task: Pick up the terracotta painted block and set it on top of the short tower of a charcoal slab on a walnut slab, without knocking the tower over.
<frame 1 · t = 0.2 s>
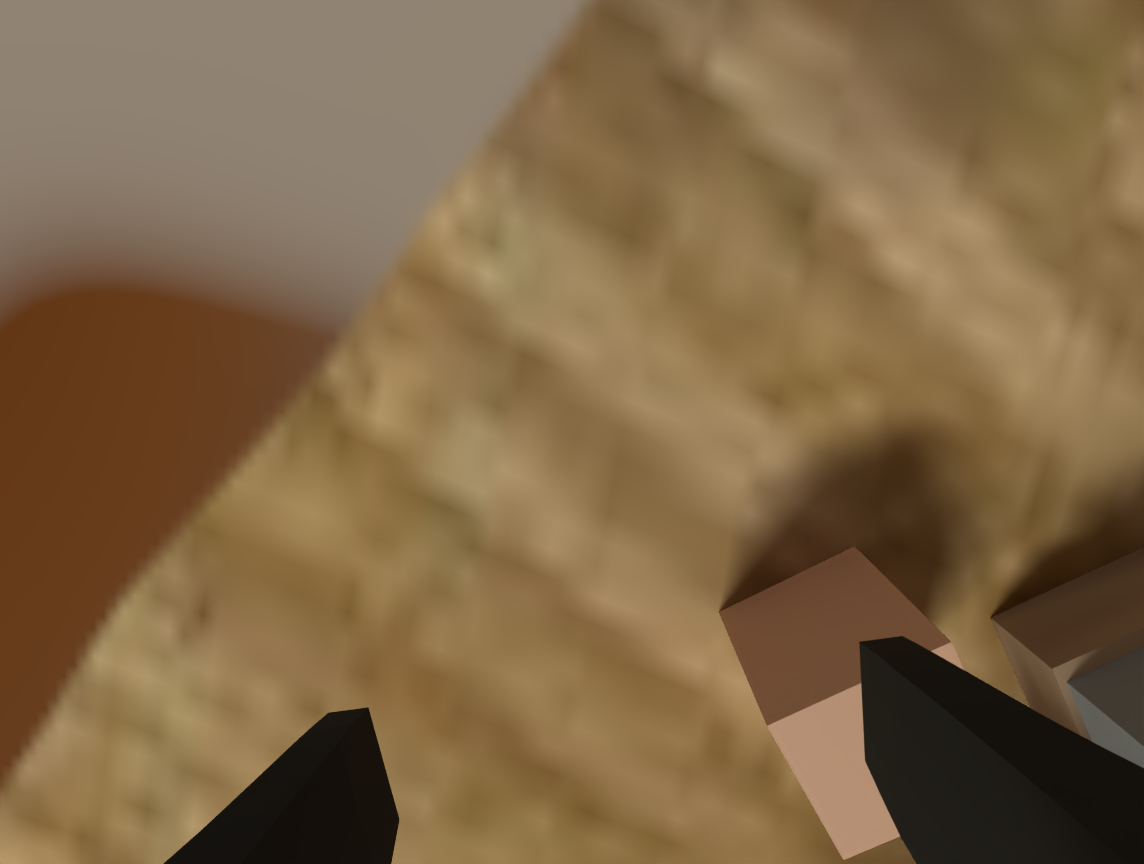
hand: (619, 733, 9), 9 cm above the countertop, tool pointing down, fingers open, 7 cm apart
base slab: (1142, 651, 20), on the countertop, touching top slab
terracotta block: (814, 635, 20), on the countertop
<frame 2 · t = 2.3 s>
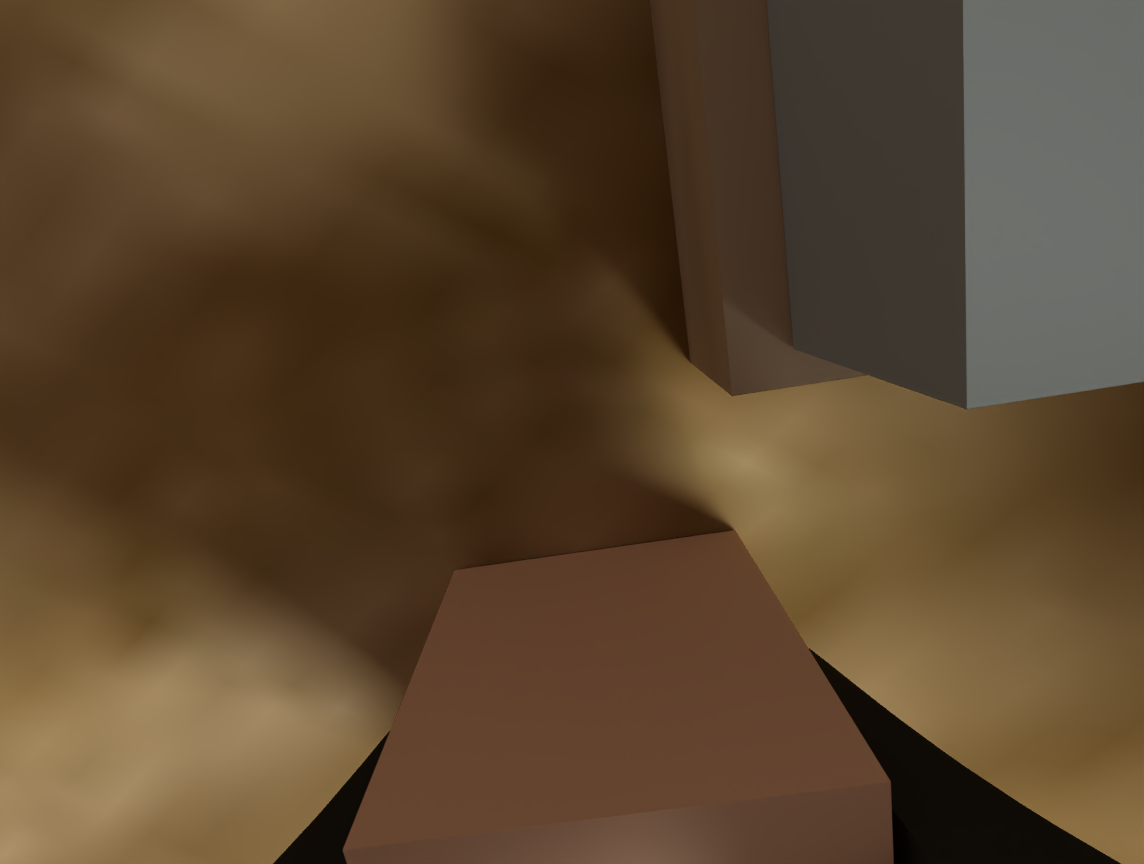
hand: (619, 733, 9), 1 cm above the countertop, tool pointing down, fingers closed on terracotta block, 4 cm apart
base slab: (945, 21, 8), on the countertop, touching top slab
terracotta block: (613, 672, 10), on the countertop, touching gripper
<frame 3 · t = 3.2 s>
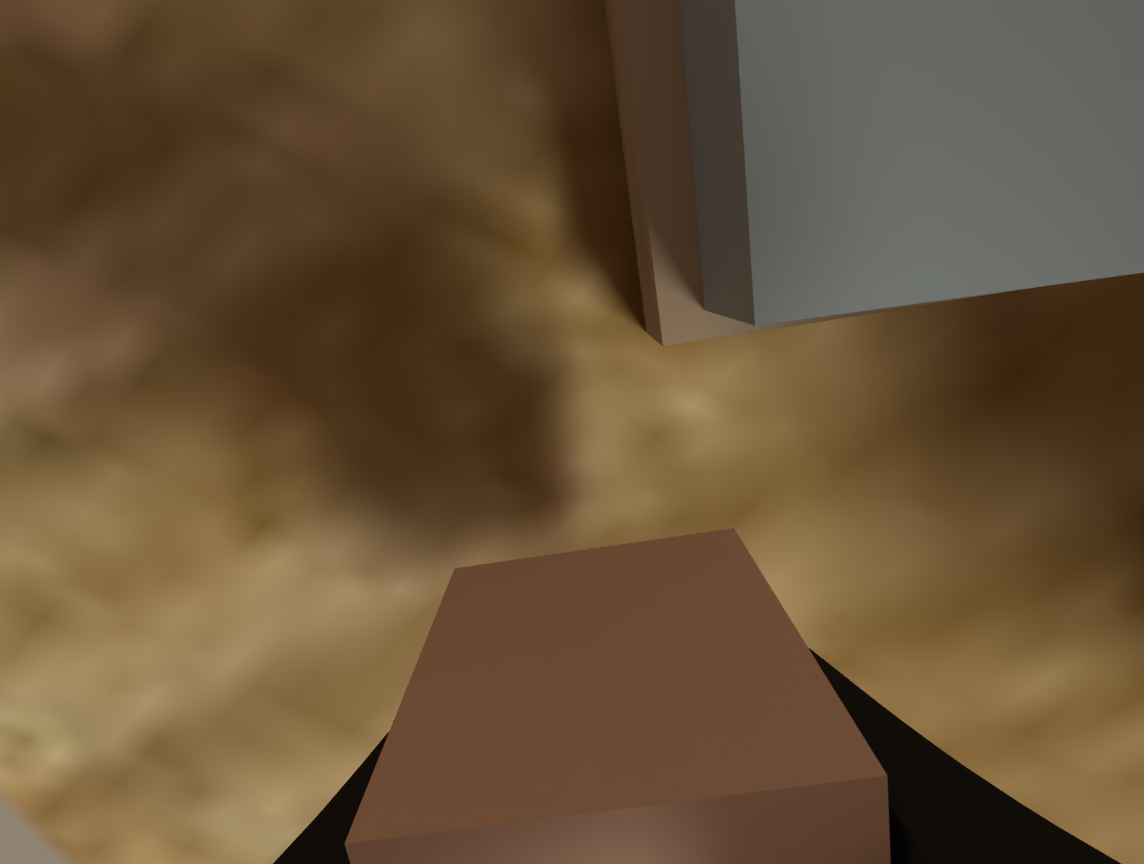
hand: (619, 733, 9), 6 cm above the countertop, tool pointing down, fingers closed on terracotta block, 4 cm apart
base slab: (815, 99, 13), on the countertop, touching top slab
terracotta block: (612, 670, 11), point 4 cm above the countertop, touching gripper
top slab: (912, 50, 10), point 2 cm above the countertop, touching base slab
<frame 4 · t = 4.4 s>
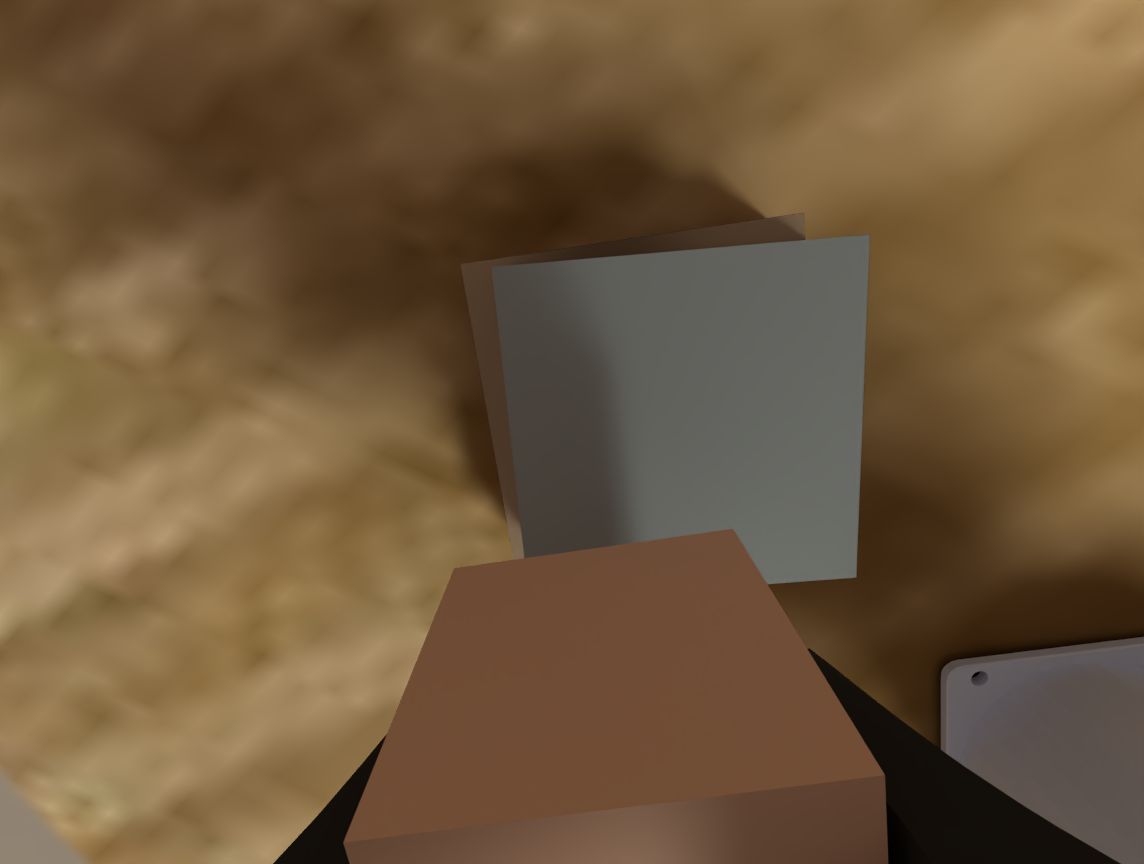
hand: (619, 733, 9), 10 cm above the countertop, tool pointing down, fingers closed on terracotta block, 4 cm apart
base slab: (637, 385, 18), on the countertop, touching top slab
terracotta block: (611, 670, 11), point 8 cm above the countertop, touching gripper
top slab: (664, 400, 15), point 3 cm above the countertop, touching base slab
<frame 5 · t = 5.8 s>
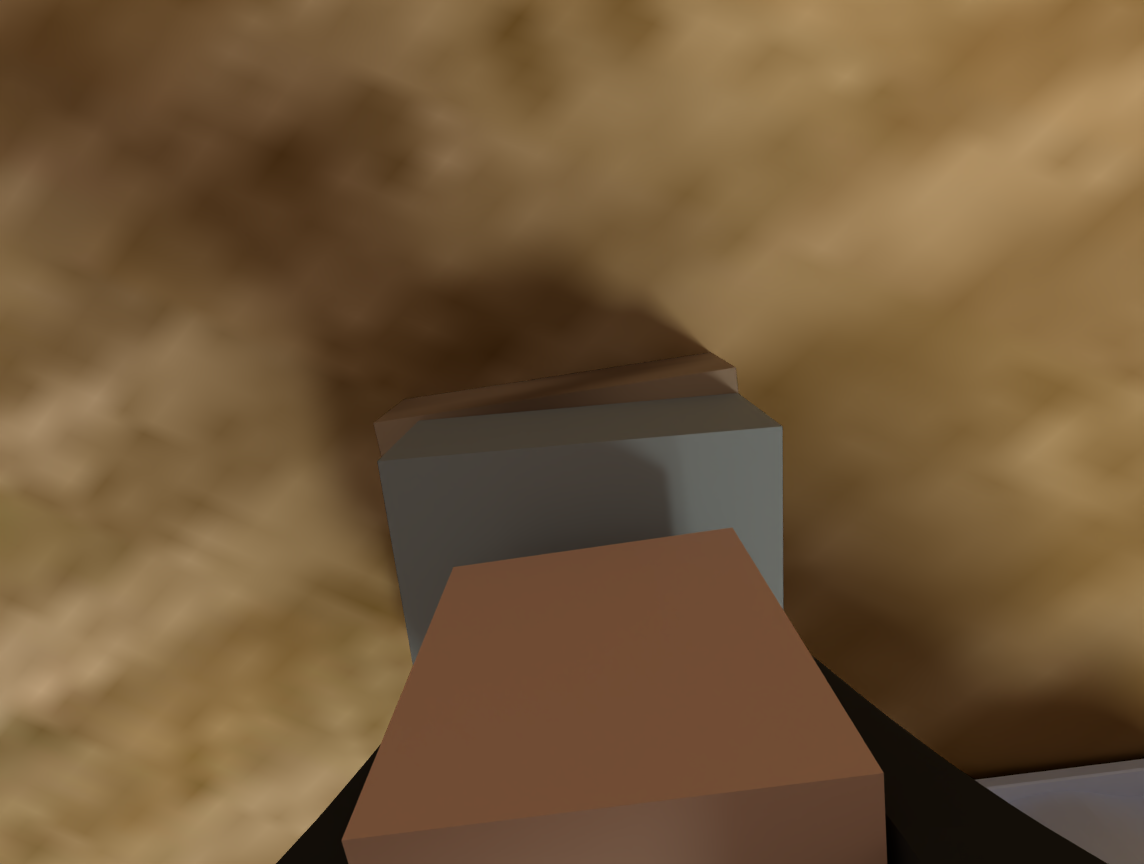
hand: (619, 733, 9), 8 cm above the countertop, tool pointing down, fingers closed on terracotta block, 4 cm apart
base slab: (578, 513, 18), on the countertop, touching top slab
terracotta block: (611, 669, 11), point 7 cm above the countertop, touching gripper
top slab: (590, 553, 15), point 3 cm above the countertop, touching base slab
when the fingers open (8 cm above the countertop, at t = 6.0 s): terracotta block drops 1 cm, resting on top slab.
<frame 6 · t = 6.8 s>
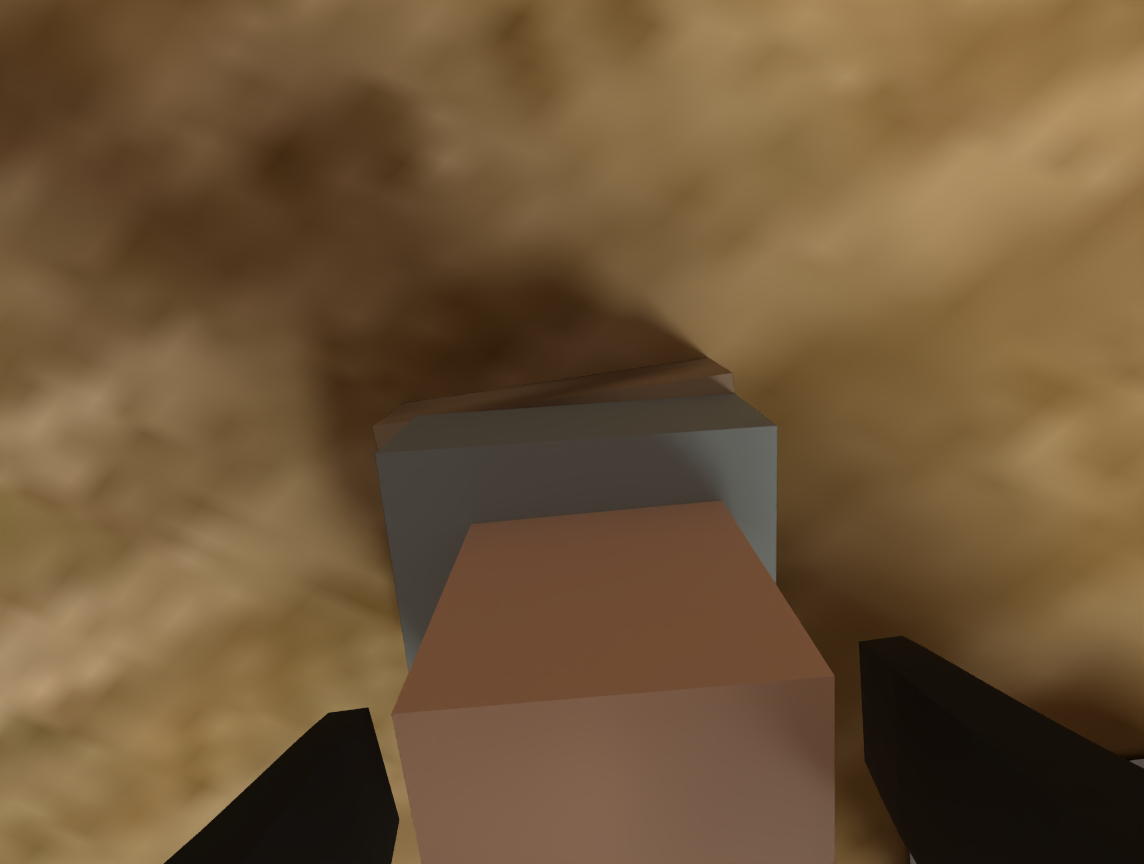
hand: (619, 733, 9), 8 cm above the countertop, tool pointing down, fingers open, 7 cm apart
base slab: (576, 516, 18), on the countertop, touching top slab
terracotta block: (607, 624, 12), point 5 cm above the countertop, touching top slab
top slab: (585, 551, 15), point 2 cm above the countertop, touching base slab, terracotta block
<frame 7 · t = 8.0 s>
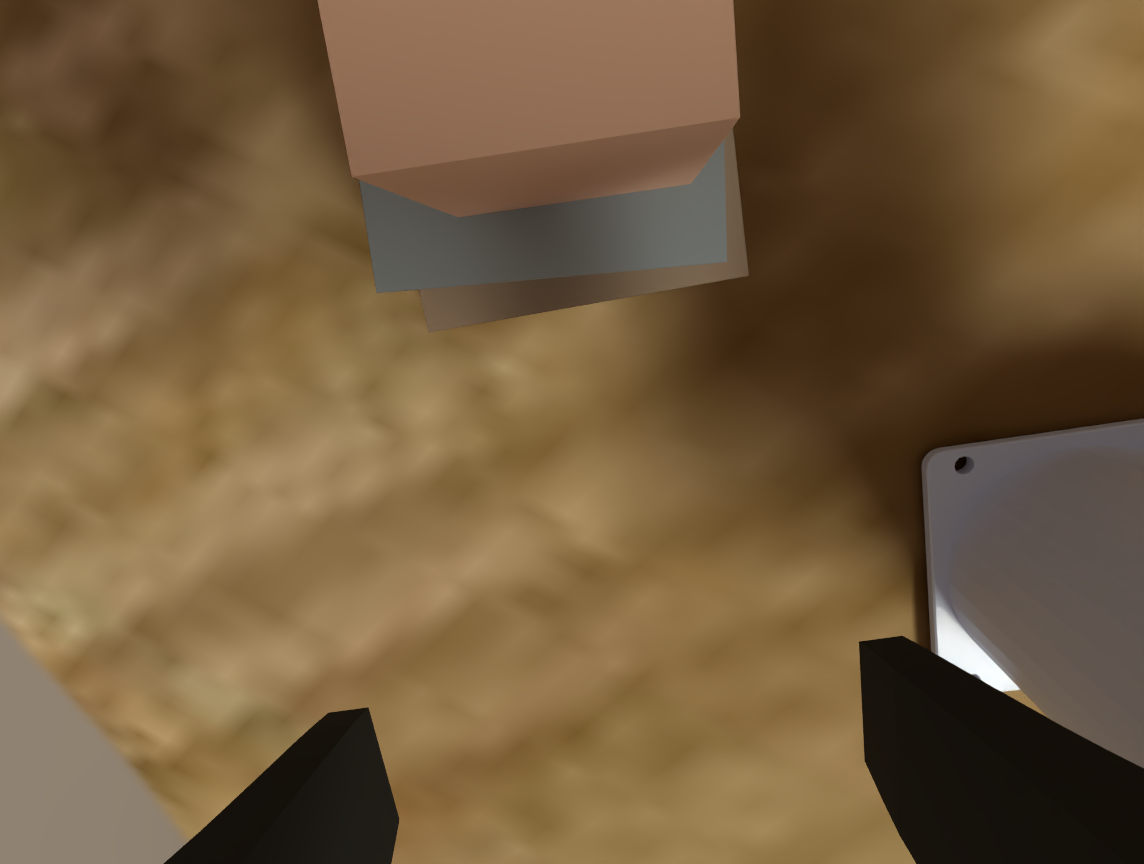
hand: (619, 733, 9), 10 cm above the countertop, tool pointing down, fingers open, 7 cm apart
base slab: (565, 155, 17), on the countertop, touching top slab
terracotta block: (556, 72, 11), point 6 cm above the countertop, touching top slab
top slab: (547, 121, 14), point 3 cm above the countertop, touching base slab, terracotta block
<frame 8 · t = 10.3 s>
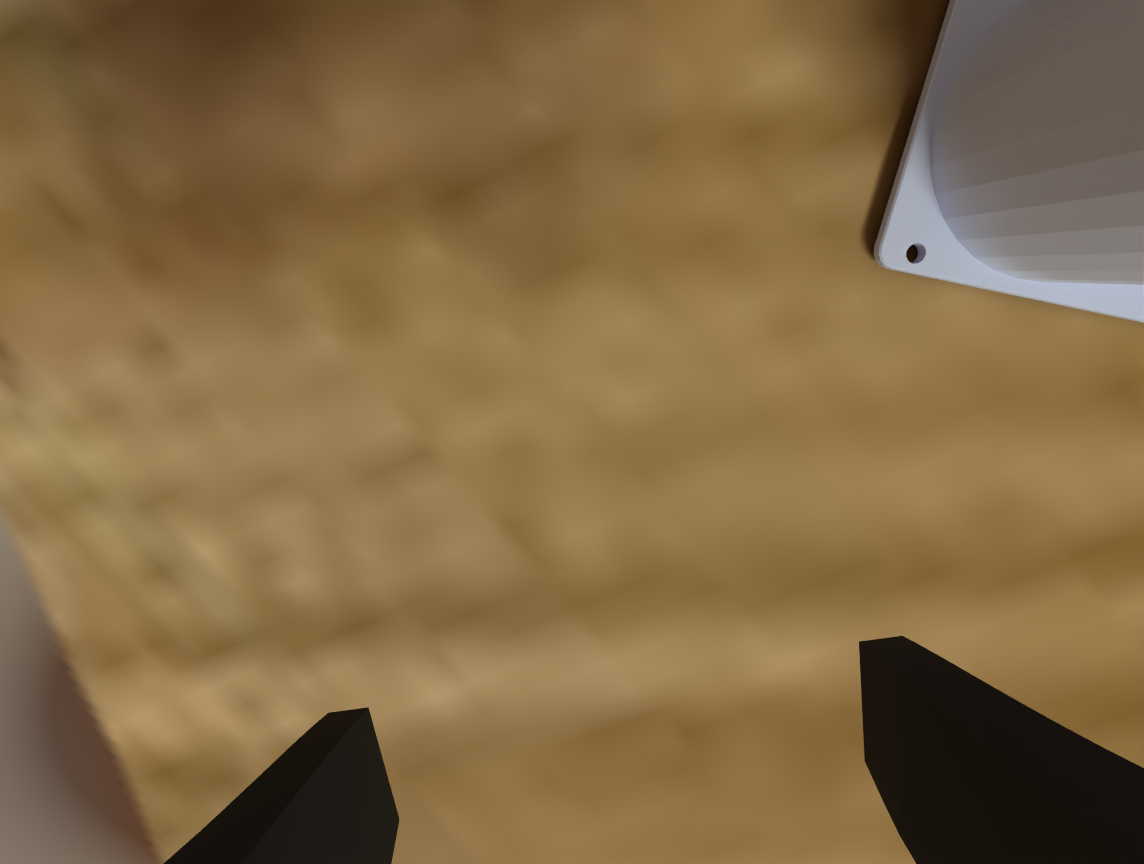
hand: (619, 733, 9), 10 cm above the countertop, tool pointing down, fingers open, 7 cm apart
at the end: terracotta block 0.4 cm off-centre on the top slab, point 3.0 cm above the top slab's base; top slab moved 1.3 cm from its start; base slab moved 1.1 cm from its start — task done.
